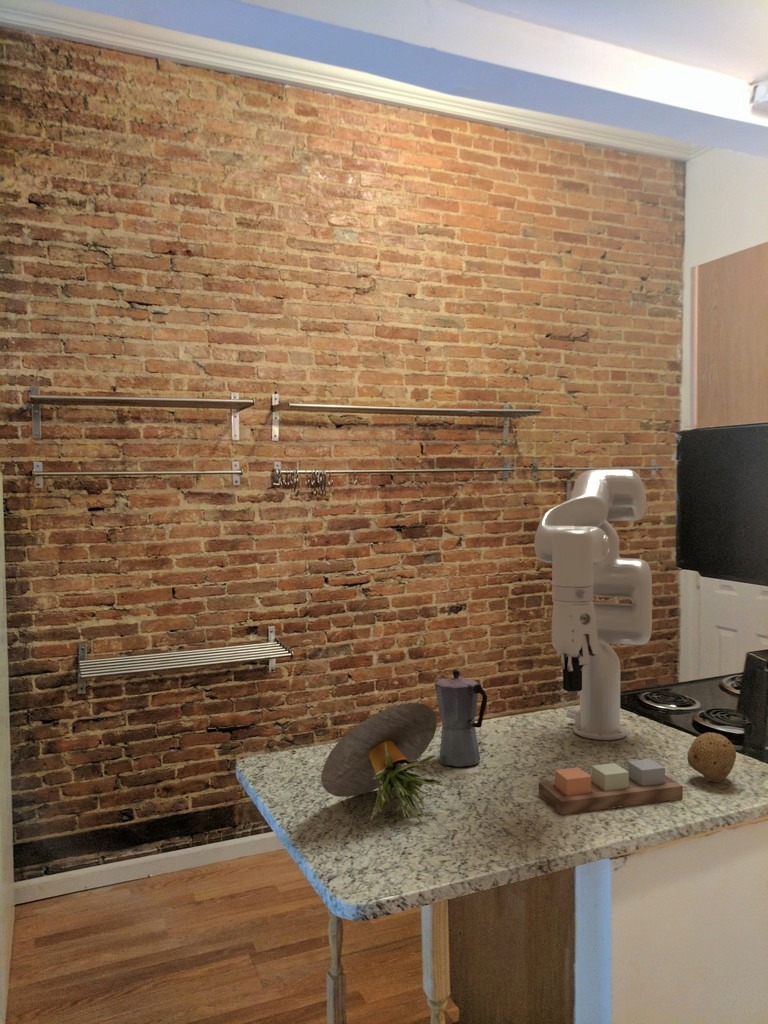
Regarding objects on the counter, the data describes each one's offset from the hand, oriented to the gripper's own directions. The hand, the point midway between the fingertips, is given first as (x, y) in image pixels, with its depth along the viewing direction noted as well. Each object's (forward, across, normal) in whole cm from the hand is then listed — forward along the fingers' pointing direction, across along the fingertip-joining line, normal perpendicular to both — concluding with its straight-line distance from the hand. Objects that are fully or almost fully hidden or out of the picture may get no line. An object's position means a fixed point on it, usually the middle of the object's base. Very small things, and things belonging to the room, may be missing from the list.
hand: (572, 690), depth 150 cm
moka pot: (+22, +26, +13) cm, 36 cm away
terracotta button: (+20, 0, 0) cm, 20 cm away
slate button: (+20, 0, -16) cm, 26 cm away
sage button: (+20, 0, -8) cm, 22 cm away
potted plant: (+22, +6, +35) cm, 42 cm away
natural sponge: (+22, +1, -32) cm, 39 cm away
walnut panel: (+22, 0, -8) cm, 23 cm away
